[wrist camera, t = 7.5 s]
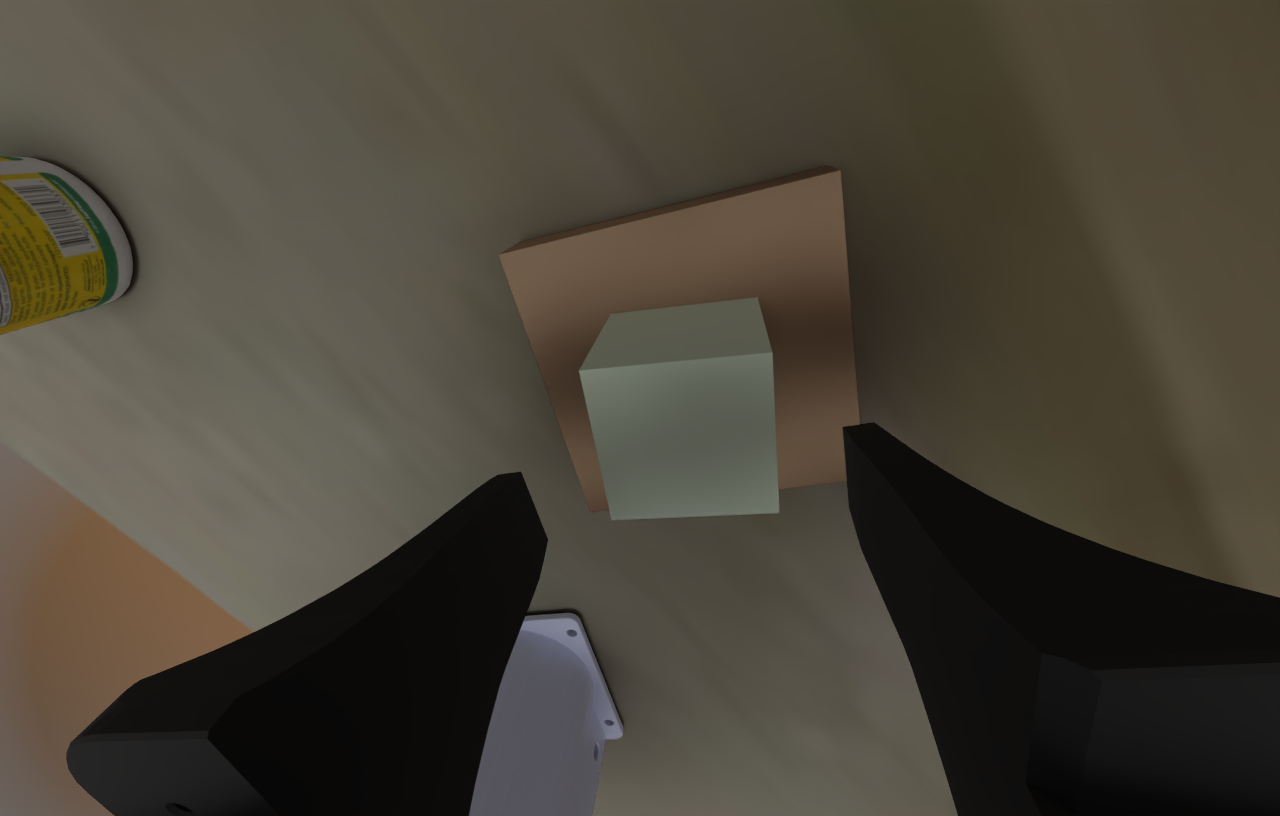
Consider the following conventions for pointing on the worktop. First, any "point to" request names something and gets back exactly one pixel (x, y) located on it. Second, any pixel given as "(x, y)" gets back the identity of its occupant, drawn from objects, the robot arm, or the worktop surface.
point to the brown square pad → (703, 273)
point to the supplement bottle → (55, 245)
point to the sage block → (684, 411)
